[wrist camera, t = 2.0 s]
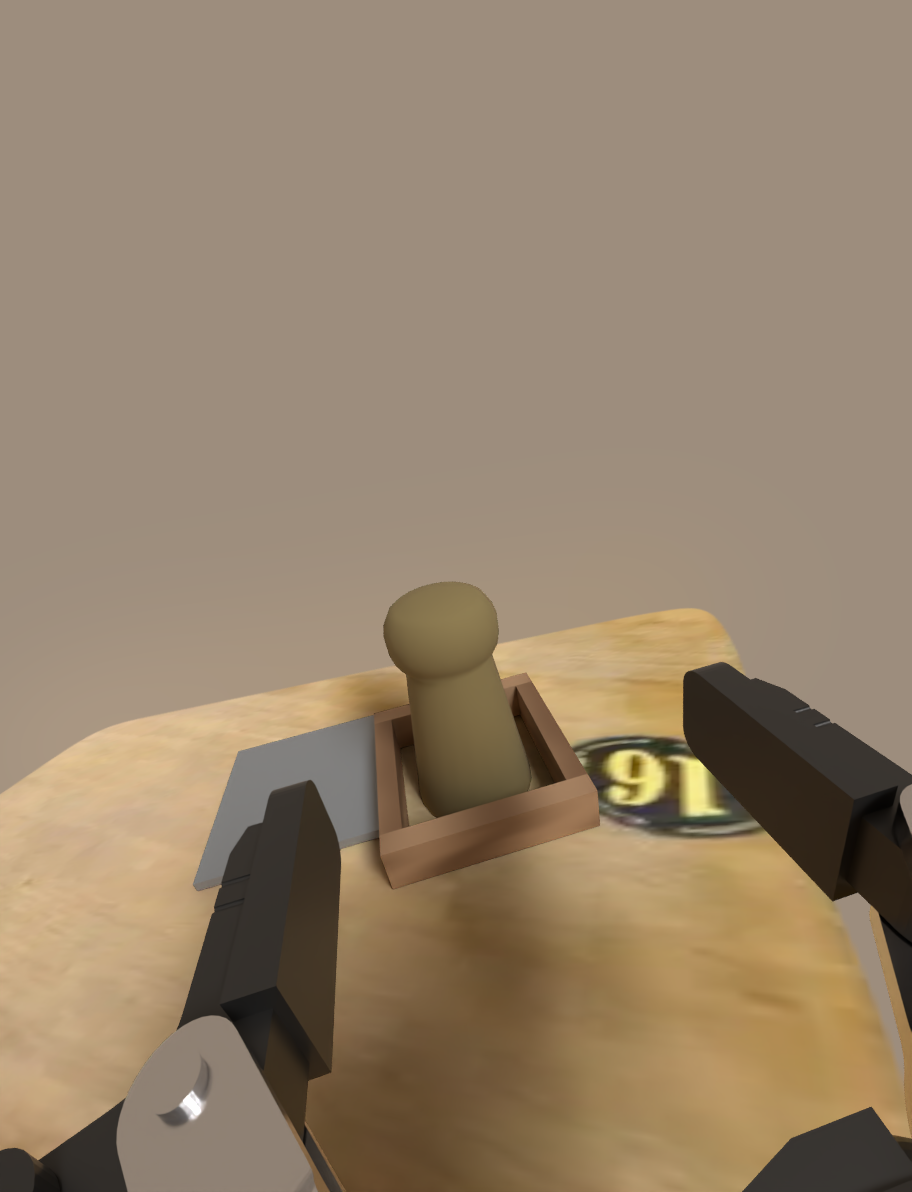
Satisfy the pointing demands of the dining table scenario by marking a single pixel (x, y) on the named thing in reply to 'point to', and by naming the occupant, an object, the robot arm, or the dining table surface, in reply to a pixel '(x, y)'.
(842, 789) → the robot arm
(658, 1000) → the dining table surface
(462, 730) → the cork
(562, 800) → the caddy
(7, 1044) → the dining table surface
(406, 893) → the dining table surface
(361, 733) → the plate
